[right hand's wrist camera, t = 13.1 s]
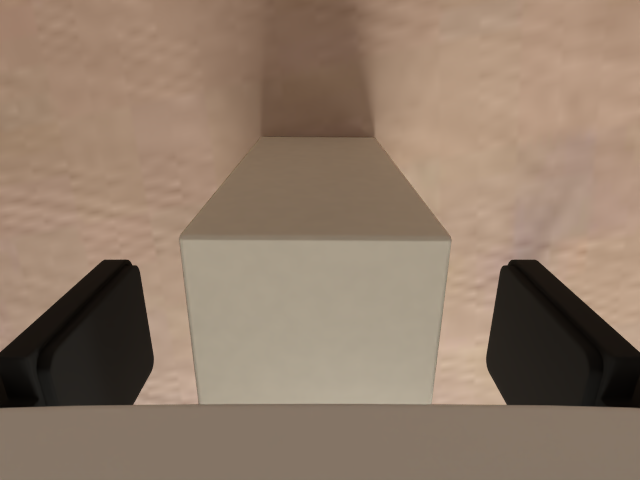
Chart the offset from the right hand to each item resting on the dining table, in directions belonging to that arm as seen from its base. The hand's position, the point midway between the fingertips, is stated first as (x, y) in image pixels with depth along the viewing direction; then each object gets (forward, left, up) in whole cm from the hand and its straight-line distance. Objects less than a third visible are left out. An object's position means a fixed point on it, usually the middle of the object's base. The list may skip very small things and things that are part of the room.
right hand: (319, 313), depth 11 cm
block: (0, 0, -8) cm, 8 cm away
